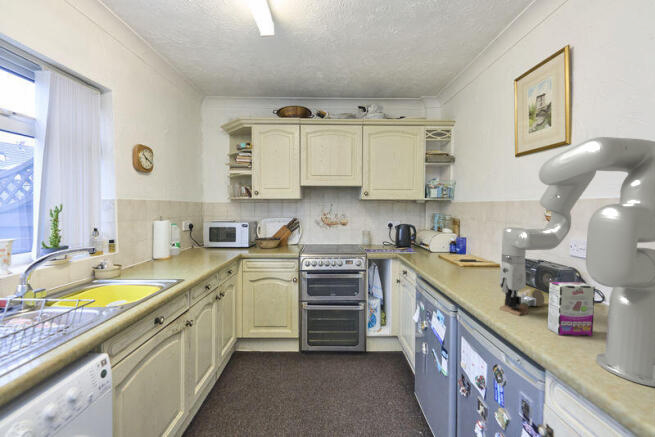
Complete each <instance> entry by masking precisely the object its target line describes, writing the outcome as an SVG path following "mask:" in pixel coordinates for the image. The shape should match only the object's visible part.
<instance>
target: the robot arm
mask: <svg viewBox="0 0 655 437" xmlns="http://www.w3.org/2000/svg"><path fill="white" fill-rule="evenodd" d="M597 171H600V172H623V173H627V176H625V178H624V180H623V182H622V183H621V187H620V196H619V203H611V204H607V205H604V206H602V207H600V208H598V209H597V210H595V212H593V213H592V215H591V217H590V218H589V221H588V224H587V231H586V232H587V233H586V247H585V248H586V249H585V250H586V251H585V266H586V270H587V273H588V275H589V277H591V279H592V280H593V281H595V282H596V283H597V284H600V285H601V286H604V287H607V288H608V287H609V288H612V289H611V292H610V296H609V302H608V314H607V323H606V324H607V326H606V338H605V339H606V341H605V351H604V352H602V353H598V354H597V355H596V360H595V361H596V362H597V363H598V365H600V366H601V367H602V368H603V369H604V370H607V371H608V372H610V373H612V374H614V375H616V376H618V377H619V378H623V379H626V380H628V381H631V382H634V383H636V384H641V385H644V386H648V387H655V249H653V248H651V247H650V248H649V247H638V243H639V244H641V243H644V244H645V243H646V244H647V243H655V141H654V140H649V139H642V138H631V137H614V136H613V137H610V136H599V137H598V136H597V137H594V138H591V139H588V140H584V141H583V142H581V143H579V144H576V145H575V146H573V147H570V148H568V149H566V150H565V151H562V152H560V153H558V154H557V155H554V156H553V157H550V158H549V159H547V160H546V161H545V162H544V163H543V164H542V166H541V167H540V169H539V172H538V178H539V180H540V182H541V183H542V184H544V185H546V186H547V188H546V189H545V191H544V193H543V194H542V196H541V197H540V200H539V204H540V205H541V207H542V208H544V209H545V210H547V211H549V212H550V214H551V216H550V219H549V221H548V222H547V224H546V225H545V227H544V228H522V227H521V228H520V227H505V228H503V229H502V230H503V231H502V241H501V244H502V246H501V247H502V248H501V260H500V261H501V267H500V271H499V272H500V273H499V287H500V288H501V292H502V293H504V295H505V297H504V302H505V305H508V306H511V307H516V301H517V297H516V296H517V295H518V292H519V291H520V290H523V289H525V287H526V282H527V280H526V278H527V276H526V274H527V272H526V252H527V251H539V250H540V251H547V250H553V249H555V248H557V247H558V246H559V245H561V243H562V242H563V241H564V239H566V237H567V235H568V234H569V232H570V231H571V227H572V213H571V211H572V209H573V208H574V207H575V204H576V203H577V202H578V201H579V199H580V197H581V196H582V195H583V193H584V192H585V191H586V189H587V188H588V186H589V185H590V184H591V182H592V181H593V180H594V178H595V176H596V174H597Z"/></svg>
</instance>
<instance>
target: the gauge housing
mask: <svg viewBox="0 0 655 437" xmlns="http://www.w3.org/2000/svg"><path fill="white" fill-rule="evenodd" d="M499 310H500V311H504V312H506V313H510V314H513V315H516V316H519V317H520V316H524V315H526V314H528V313H529V306H528V304H527V303H522V304H519V309H516V308H513V307H510V306H508V305H505V301H504V305H500V306H499Z"/></svg>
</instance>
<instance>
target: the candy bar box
mask: <svg viewBox="0 0 655 437" xmlns="http://www.w3.org/2000/svg"><path fill="white" fill-rule="evenodd" d="M548 283H549V286H548V287H549V288H548V309H547V310H548V311H547V329H548V330H549V331H551V332H553V333H554V334H556V335H558V336H576V337H577V336H587V337H588V336H589V337H590V336H593V335H594V313H595V312H594V311H595V297H596V296H595V295H596V294H595V293H596V286H595V285H592V284H589V283H586V282H580V281H579V282H578V281H577V282H575V281H574V282H573V281H572V282H571V281H569V282H567V281H566V282H565V281H562V282H559V281H550V282H548Z"/></svg>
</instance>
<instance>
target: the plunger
mask: <svg viewBox="0 0 655 437" xmlns="http://www.w3.org/2000/svg"><path fill="white" fill-rule="evenodd" d="M516 297H517V301H516V307H513V308H516V309H519V304H522V303H527V304H528V307H529V306H532V305H533V307H537V306H536V298H535V297H531V296H528V295H524V294H521V297H519V296H516ZM510 307H511V306H510Z"/></svg>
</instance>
